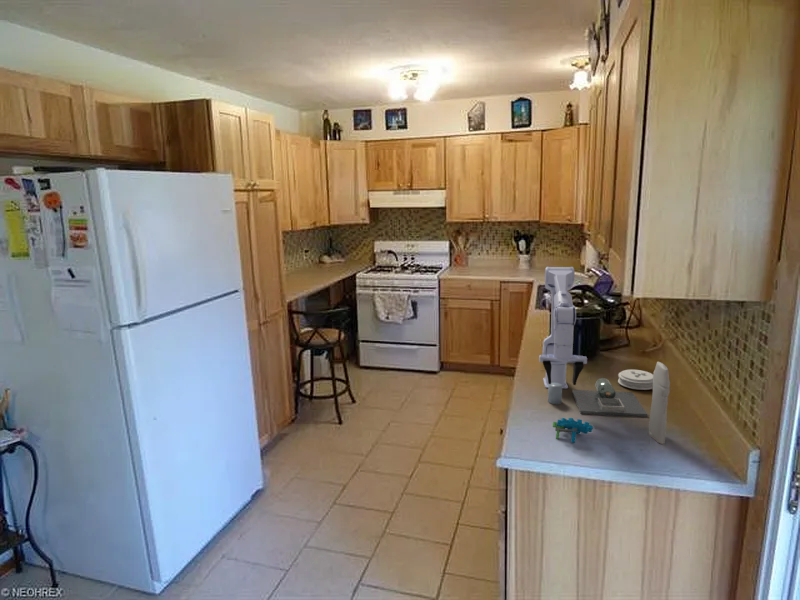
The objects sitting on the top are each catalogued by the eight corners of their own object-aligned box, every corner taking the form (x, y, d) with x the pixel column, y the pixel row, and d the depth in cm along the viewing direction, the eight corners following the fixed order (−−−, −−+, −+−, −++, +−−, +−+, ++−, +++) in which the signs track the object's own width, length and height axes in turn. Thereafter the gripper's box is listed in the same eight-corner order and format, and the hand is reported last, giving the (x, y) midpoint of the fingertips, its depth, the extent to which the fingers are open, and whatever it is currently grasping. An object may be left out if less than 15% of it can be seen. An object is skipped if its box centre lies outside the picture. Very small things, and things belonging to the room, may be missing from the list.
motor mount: (572, 392, 178) (572, 376, 177) (632, 395, 174) (633, 378, 173) (580, 413, 161) (581, 396, 159) (647, 417, 157) (648, 399, 156)
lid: (621, 377, 192) (622, 364, 191) (658, 383, 185) (659, 370, 184) (614, 388, 182) (615, 375, 181) (652, 394, 175) (654, 381, 174)
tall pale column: (670, 445, 139) (677, 370, 135) (655, 444, 140) (661, 370, 135) (658, 428, 149) (664, 358, 145) (643, 427, 150) (648, 357, 146)
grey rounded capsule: (547, 398, 173) (547, 382, 172) (560, 399, 172) (561, 382, 171) (548, 403, 169) (549, 387, 168) (562, 404, 168) (563, 387, 167)
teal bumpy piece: (596, 430, 145) (589, 417, 139) (595, 450, 142) (587, 437, 136) (558, 427, 151) (549, 414, 145) (556, 446, 148) (546, 433, 142)
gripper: (541, 346, 157) (539, 387, 160) (589, 347, 154) (587, 389, 157) (539, 340, 164) (537, 379, 166) (585, 341, 161) (583, 380, 164)
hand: (561, 383), depth 162 cm, fingers open, 7 cm apart
